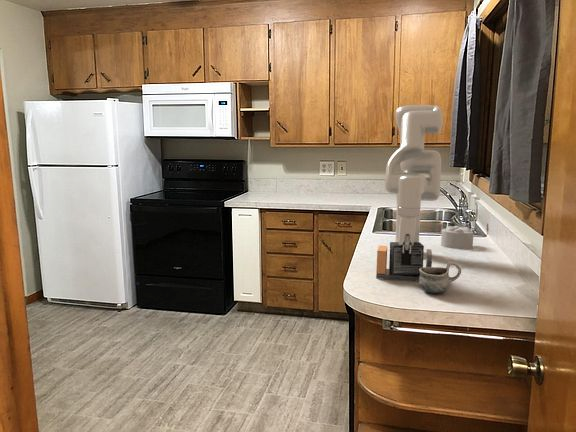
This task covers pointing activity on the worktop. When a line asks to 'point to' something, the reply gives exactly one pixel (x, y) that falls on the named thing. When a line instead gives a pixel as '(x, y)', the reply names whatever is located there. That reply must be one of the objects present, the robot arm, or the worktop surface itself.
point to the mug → (437, 278)
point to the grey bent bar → (406, 277)
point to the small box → (396, 256)
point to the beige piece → (457, 237)
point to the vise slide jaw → (381, 259)
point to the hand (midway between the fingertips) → (406, 261)
